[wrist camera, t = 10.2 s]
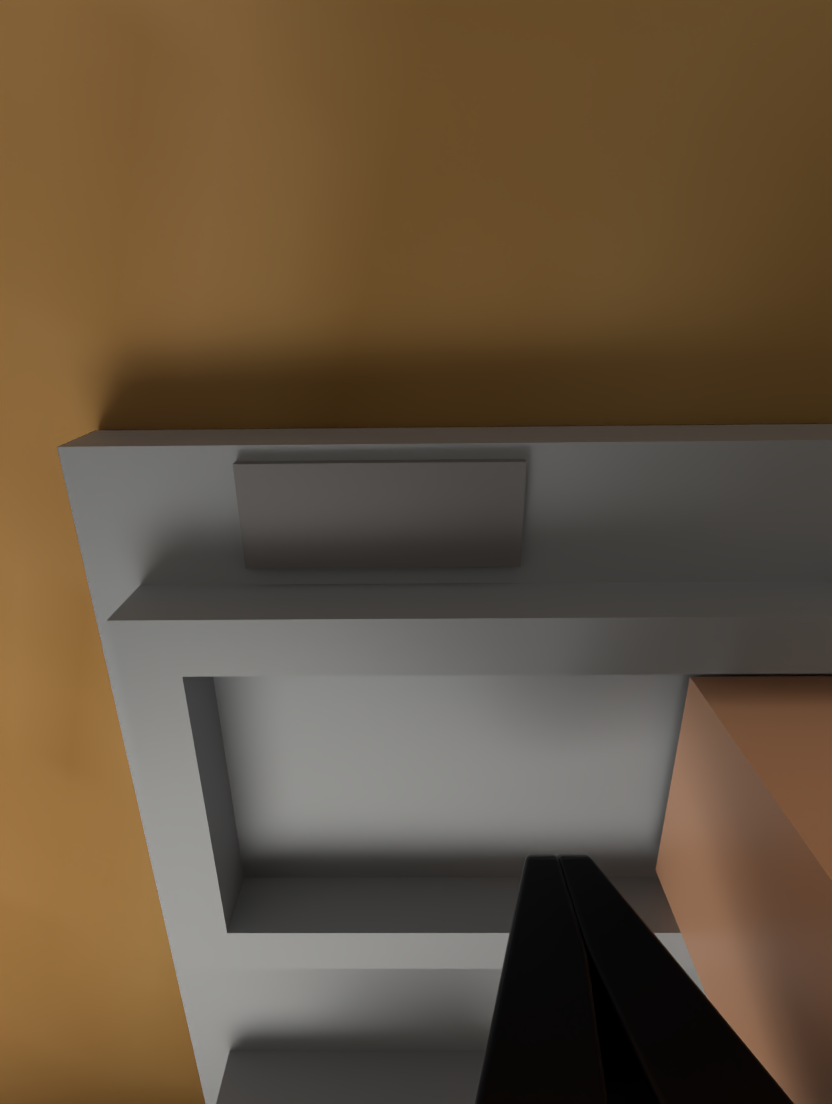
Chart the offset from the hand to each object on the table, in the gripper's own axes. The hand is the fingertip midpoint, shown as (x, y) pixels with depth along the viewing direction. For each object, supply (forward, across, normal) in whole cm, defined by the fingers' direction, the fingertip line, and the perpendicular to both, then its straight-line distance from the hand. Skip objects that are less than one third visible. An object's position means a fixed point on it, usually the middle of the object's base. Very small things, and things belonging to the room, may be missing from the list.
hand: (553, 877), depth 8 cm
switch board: (+3, -2, +5) cm, 6 cm away
